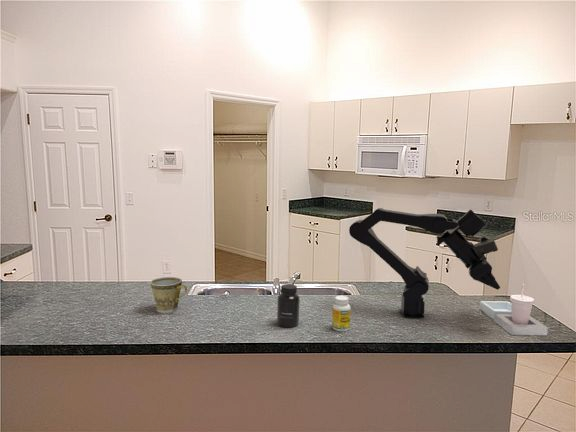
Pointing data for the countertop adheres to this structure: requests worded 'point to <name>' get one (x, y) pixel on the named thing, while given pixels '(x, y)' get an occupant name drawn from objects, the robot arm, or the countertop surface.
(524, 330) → the bore block
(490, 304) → the tray
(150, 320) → the countertop surface
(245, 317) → the countertop surface
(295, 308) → the supplement bottle
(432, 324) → the countertop surface
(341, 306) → the supplement bottle
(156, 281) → the ceramic cup
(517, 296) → the smoothie
